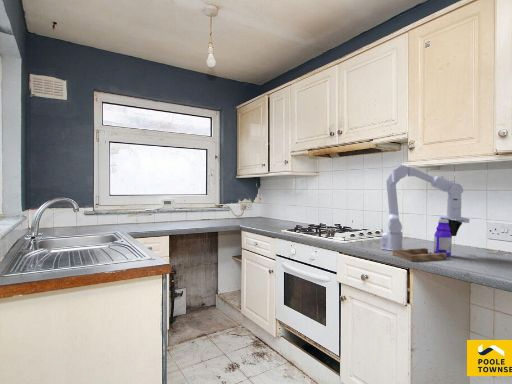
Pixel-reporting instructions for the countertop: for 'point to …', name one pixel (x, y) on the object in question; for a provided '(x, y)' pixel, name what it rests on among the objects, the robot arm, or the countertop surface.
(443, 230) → the bottle
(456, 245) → the countertop surface
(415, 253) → the cradle
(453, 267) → the countertop surface
